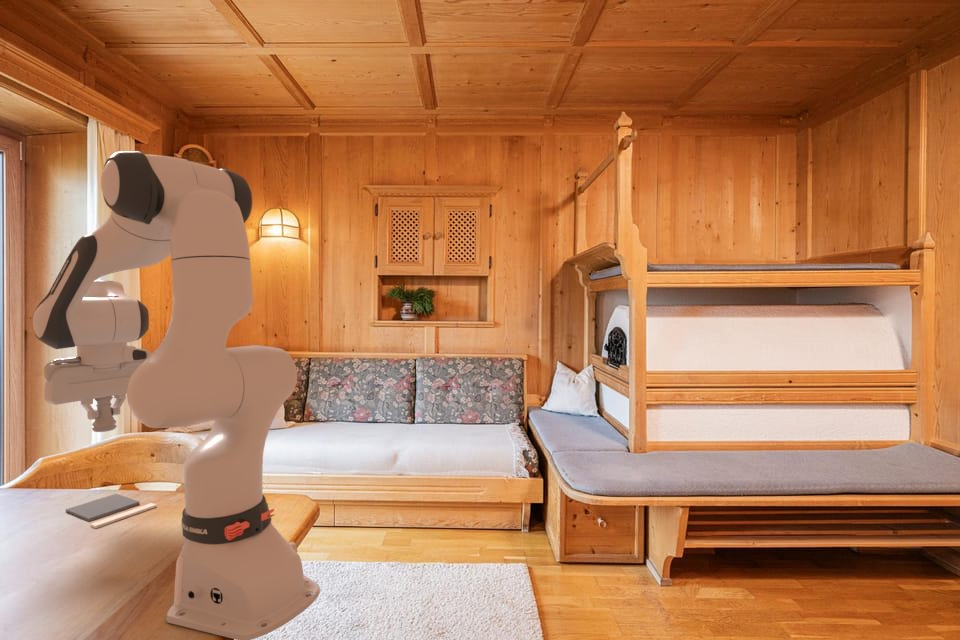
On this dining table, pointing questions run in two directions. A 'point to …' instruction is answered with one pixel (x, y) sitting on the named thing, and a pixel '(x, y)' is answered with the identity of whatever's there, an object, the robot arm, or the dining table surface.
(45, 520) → the dining table surface
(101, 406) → the rook chess piece
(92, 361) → the robot arm
